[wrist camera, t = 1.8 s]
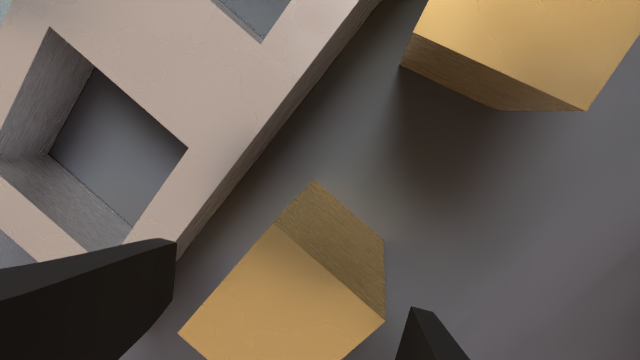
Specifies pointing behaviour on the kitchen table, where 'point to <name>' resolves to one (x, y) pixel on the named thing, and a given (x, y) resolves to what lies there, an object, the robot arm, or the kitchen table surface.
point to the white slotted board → (151, 105)
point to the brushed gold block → (297, 289)
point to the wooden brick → (523, 49)
